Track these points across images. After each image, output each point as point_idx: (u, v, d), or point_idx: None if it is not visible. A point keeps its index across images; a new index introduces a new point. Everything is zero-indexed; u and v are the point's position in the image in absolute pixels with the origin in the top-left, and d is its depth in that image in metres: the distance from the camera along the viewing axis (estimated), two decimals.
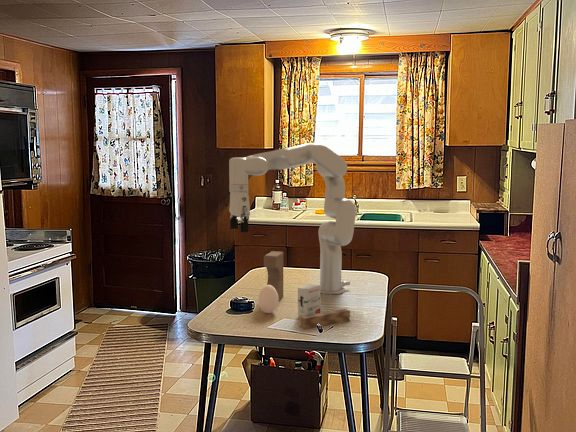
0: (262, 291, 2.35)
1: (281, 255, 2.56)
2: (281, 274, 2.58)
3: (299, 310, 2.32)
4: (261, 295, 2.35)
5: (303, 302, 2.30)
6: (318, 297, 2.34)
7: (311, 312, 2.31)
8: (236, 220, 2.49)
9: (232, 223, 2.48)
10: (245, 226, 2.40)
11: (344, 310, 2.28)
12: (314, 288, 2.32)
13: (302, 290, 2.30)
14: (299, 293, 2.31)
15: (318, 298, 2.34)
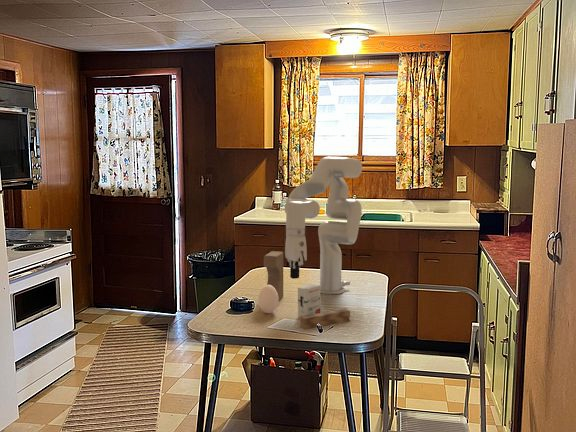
0: (262, 291, 2.35)
1: (281, 255, 2.56)
2: (281, 274, 2.58)
3: (299, 310, 2.32)
4: (261, 295, 2.35)
5: (303, 302, 2.30)
6: (318, 297, 2.34)
7: (311, 312, 2.31)
8: None
9: None
10: (296, 272, 2.40)
11: (344, 310, 2.28)
12: (314, 288, 2.32)
13: (302, 290, 2.30)
14: (299, 293, 2.31)
15: (318, 298, 2.34)
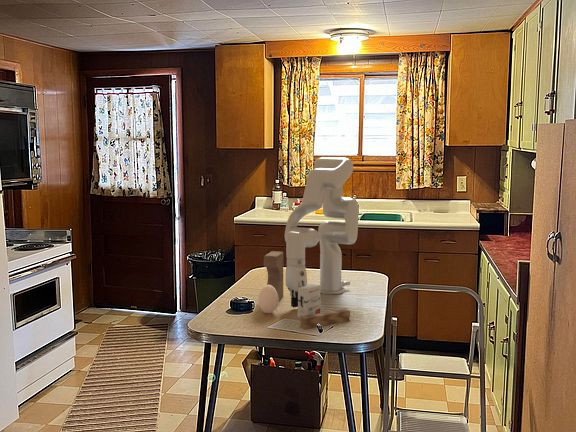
0: (262, 291, 2.35)
1: (281, 255, 2.56)
2: (281, 274, 2.58)
3: (299, 310, 2.32)
4: (261, 295, 2.35)
5: (303, 302, 2.30)
6: (318, 297, 2.34)
7: (311, 312, 2.31)
8: None
9: None
10: (297, 301, 2.42)
11: (344, 310, 2.28)
12: (314, 288, 2.32)
13: (302, 290, 2.30)
14: (299, 293, 2.31)
15: (318, 298, 2.34)
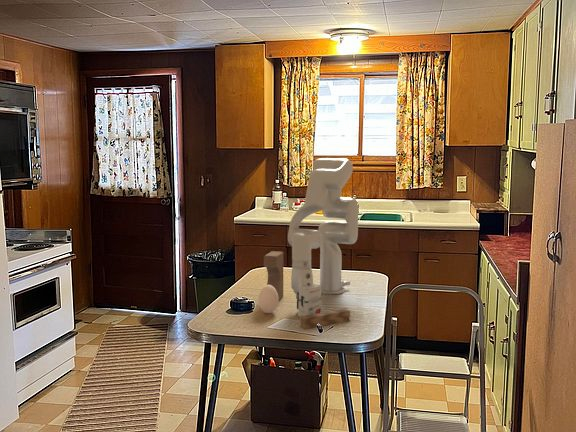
0: (262, 291, 2.35)
1: (281, 255, 2.56)
2: (281, 274, 2.58)
3: (299, 310, 2.32)
4: (261, 295, 2.35)
5: (304, 302, 2.30)
6: (319, 297, 2.34)
7: (311, 312, 2.31)
8: None
9: None
10: None
11: (344, 310, 2.28)
12: (315, 288, 2.31)
13: (303, 290, 2.29)
14: (300, 293, 2.31)
15: (319, 298, 2.34)
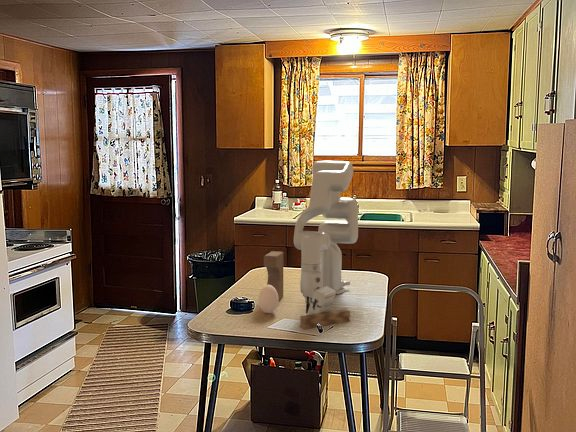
0: (262, 291, 2.35)
1: (281, 255, 2.56)
2: (281, 274, 2.58)
3: (309, 311, 2.27)
4: (261, 295, 2.35)
5: (316, 305, 2.24)
6: (331, 302, 2.29)
7: None
8: None
9: (308, 308, 2.32)
10: None
11: (344, 310, 2.28)
12: (330, 294, 2.25)
13: (319, 294, 2.23)
14: (314, 296, 2.24)
15: (331, 303, 2.29)
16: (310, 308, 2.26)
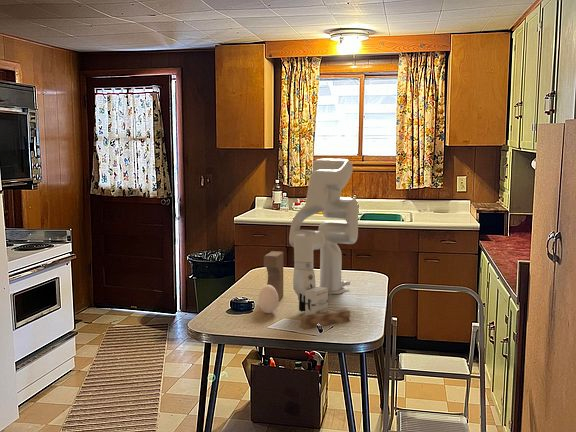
0: (262, 291, 2.35)
1: (281, 255, 2.56)
2: (281, 274, 2.58)
3: (306, 313, 2.28)
4: (261, 295, 2.35)
5: (311, 305, 2.26)
6: (326, 300, 2.30)
7: None
8: None
9: None
10: None
11: (344, 310, 2.28)
12: (322, 291, 2.28)
13: (310, 293, 2.26)
14: (306, 296, 2.27)
15: (326, 301, 2.30)
16: (306, 310, 2.28)
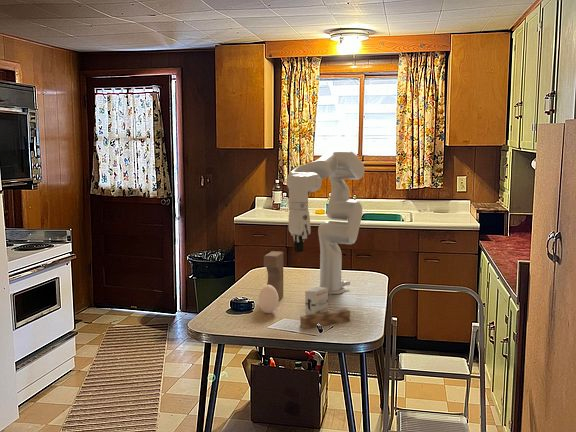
0: (262, 291, 2.35)
1: (281, 255, 2.56)
2: (281, 274, 2.58)
3: (306, 313, 2.28)
4: (261, 295, 2.35)
5: (311, 305, 2.26)
6: (326, 300, 2.30)
7: None
8: None
9: None
10: (300, 246, 2.39)
11: (344, 310, 2.28)
12: (322, 291, 2.28)
13: (310, 293, 2.26)
14: (306, 296, 2.27)
15: (326, 301, 2.30)
16: (306, 310, 2.28)
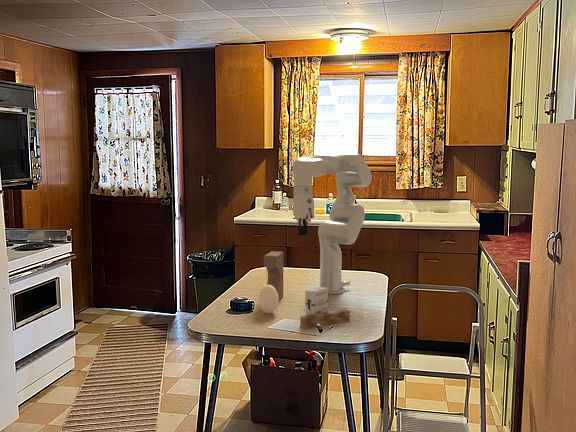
0: (262, 291, 2.35)
1: (281, 255, 2.56)
2: (281, 274, 2.58)
3: (306, 313, 2.28)
4: (261, 295, 2.35)
5: (311, 305, 2.26)
6: (326, 300, 2.30)
7: None
8: None
9: None
10: (304, 229, 2.45)
11: (344, 310, 2.28)
12: (322, 291, 2.28)
13: (310, 293, 2.26)
14: (306, 296, 2.27)
15: (326, 301, 2.30)
16: (306, 310, 2.28)
